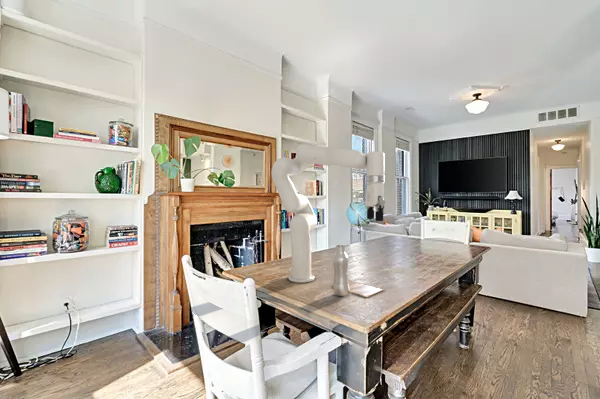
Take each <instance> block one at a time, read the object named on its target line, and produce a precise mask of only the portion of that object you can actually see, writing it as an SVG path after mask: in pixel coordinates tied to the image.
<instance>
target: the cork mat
mask: <svg viewBox="0 0 600 399" xmlns="http://www.w3.org/2000/svg"><path fill="white" fill-rule="evenodd" d="M348 284H349V294H352V295H353V294H354V295H356V296H361V297H363V298H370V297H372V296H374V295H377V294H379V293H382V292H383V291H384V289H382V288H378V287H376V286H372V285H367V284H364V283H361V282H357V281H354V280H350V279H348ZM332 288H333V285H332Z"/></svg>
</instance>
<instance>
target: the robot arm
mask: <svg viewBox="0 0 600 399" xmlns="http://www.w3.org/2000/svg"><path fill="white" fill-rule="evenodd" d="M295 155H296V156H295V157H294V158H289V157H280V158H277V160H275V162H274V163H273V165H272V167H271V174H270V175H271V179H272V182H273V184H274V186H275V189H276V191H277V194H278V195H279V198H280V200H281V203H282V205H283V207H284V210H285V211H286V212H288V213H290V214H295V215H293V217H291V219H290V222H289V231H290V240H291V242H290V243H291V267H290V268H288V269H287V272H288V273H290V274H289V276H288V281H290V282H293V283H299V284H300V283H303V284H304V283H310V282H313V281H314V280H315V275H314V274H312V238H311V234H310V233H311V232H312V231H313V230H315V229H316V227H317V225H318V219H317V216H316V213H315V211H314V209H313V208H312V205H311V203H310V201H309V199H308V197H307V196H306V195H304V194H302V193H298V191H297V189H296V187H295V185H294V182H293V181H292V180H291V178H290V176H291V177H296V176H299V175H300V174H302V173H304V172H305V171H307V169H309V168H310V167H312V166H313V165H314V164H315V165H320V166H325V167H326V166H327V167H329V166H339V167H345V168H350V169H354V170H358V171H362V170H366V177H365V178H366V180H365V182H366V188H365V202H364V203H365V206H366V219H367V220H374V221H375V222H383V221H384V212H385V203H386V202H385V188H384V185H385V164H386V162H385V160H386V159H385V157H386V156H385V155H386V154H385V153H384V151H377V150H376V151H375V150H374V151H369V152H367V153H363V152H361V151H359V150H356V149H350V148H341V147H332V146H321V145H315V144H308V143H305V144H304V143H303V144H300V145H298V146H297V148H296V150H295Z"/></svg>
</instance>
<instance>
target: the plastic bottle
mask: <svg viewBox="0 0 600 399" xmlns="http://www.w3.org/2000/svg"><path fill="white" fill-rule="evenodd" d="M349 261H350V259H349V256H348V254H347V253H346V246H345V244H344V245H343V244H338V245H335V253H334V254H333V256H332V265H333V282H332V286H333V287H332V292H333V294H334V295H335V296H339V297H340V296H341V297H345V296H348V295H349V294H350V292H349V284H348V281H349V277H348V271H349Z"/></svg>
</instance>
